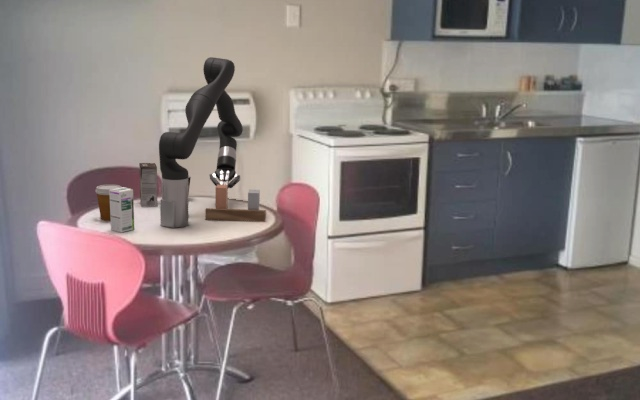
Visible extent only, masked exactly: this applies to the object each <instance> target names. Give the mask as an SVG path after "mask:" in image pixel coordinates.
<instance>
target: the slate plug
mask: <svg viewBox="0 0 640 400" xmlns="http://www.w3.org/2000/svg"><path fill="white" fill-rule="evenodd" d="M260 193H261V190H260V189H248V192H247V210H260V195H261V194H260Z"/></svg>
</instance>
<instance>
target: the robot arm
mask: <svg viewBox="0 0 640 400" xmlns="http://www.w3.org/2000/svg"><path fill="white" fill-rule="evenodd" d="M202 71H203V76H204V79H205V81H206V83H207V84H206V85H204V86H202V87H201V88H198V89H197V90H195V91H194V92H193V93H192V95H191V96H190V98H189V99H188V101H187V103H186V105H185V110H184V111H185V116H186V120H187V127H186V129H185V130H184V131H183V132H172V131H165V132H163V133H162V134H161V136H160V137H159V141H158V155H159V157H158V158H159V167H160V168H159V169H160V172H161V199H160V200H159V205H160V206H159V207H160V208H159V209H160V210H159V212H160V216H159V217H160V219H159V220H160V226H162V227H166V228H171V229H176V228H184V227H187V226H188V225H189V196H188V175H189V170H188V169H187V168H185V167H184V166H182V165H181V164H179V163H178V162H177V160H187V159H188V158H189V157H190V156H191V155H192V153H193V151H194V149H195V147H196V144H197V142H198V139H199V136H200V134H201V132H202V131H203V128H204V126H205V124H206V123H207V121H208V119H209V117H210V116H211V115H212V112H213V111H214V108H215V106H216V110H217V115H218V118H219V120H220V121H219V122H218V124H217V126H216V127H217V134H218V137H219V146H218V147H219V148H218V149H219V150H218V154H217V160H216V161H217V163H216V169H215V171H214V173H213V174H212V173H210V174H209V179H210V181H211V183H212V184H213V185H214V186H215V187H216V186H217V184H218V185H228V189H232V188H234V187H235V186H236V184H238V183H239V182H240V181H241V175H239V174H237V172H236V163H237V148H238V146H237V145H238V141H237V139H236V137H237V138H238V137H240V136H241V135H242V133H243V132H244V131H243V125H242V122H241V121H240V119H239V117H238V116H237V114H236V110H235V105H234V101H233V99H232V97H231V96H230V95H229V94H228V92H227V91H226V89H227V87H228V86H229V84H230V82H231V81H232V79H233V77H234V74H235V71H236V66H235V63H234V62H233V61H232V60H230V59H227V58H221V57H220V58H219V57H207V59H205V60H204V63H203V69H202ZM217 179H218V180H217Z"/></svg>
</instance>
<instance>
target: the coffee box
mask: <svg viewBox="0 0 640 400" xmlns="http://www.w3.org/2000/svg"><path fill="white" fill-rule="evenodd" d="M139 193H140V195H139V196H140V199H139V200H140V205H141V208H143V207H144V208H145V207H147V208H148V207H150V208H151V207H152V208H153V207H158V167H157V164H156V163H155V162H140V163H139Z"/></svg>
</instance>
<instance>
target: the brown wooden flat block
mask: <svg viewBox="0 0 640 400" xmlns="http://www.w3.org/2000/svg"><path fill="white" fill-rule="evenodd" d="M204 210H205V211H204V212H205V214H204V215H205V221H229V222H256V223H257V222H259V223H261V222H262V223H264V222H265V223H266V221H265V220H266V216H267V210H266V209H259V210H248V209H238V208H227V209H215V208H212V207H211V208H210V207H209V208H207V207H206V208H205V209H204Z"/></svg>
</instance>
